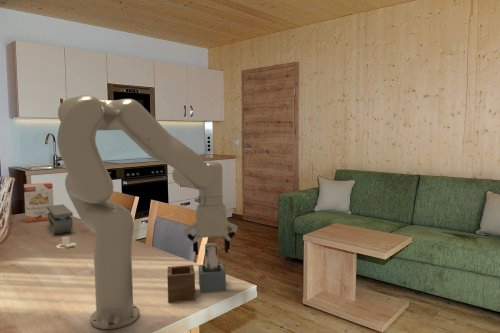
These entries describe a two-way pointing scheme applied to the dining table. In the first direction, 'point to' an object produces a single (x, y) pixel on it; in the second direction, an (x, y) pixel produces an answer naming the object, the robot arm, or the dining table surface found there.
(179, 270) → the brown wooden socket block
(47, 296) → the dining table surface
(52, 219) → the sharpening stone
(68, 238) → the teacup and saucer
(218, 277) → the blue-grey square holder
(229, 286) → the dining table surface
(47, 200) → the cracker box
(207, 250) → the steel axle
